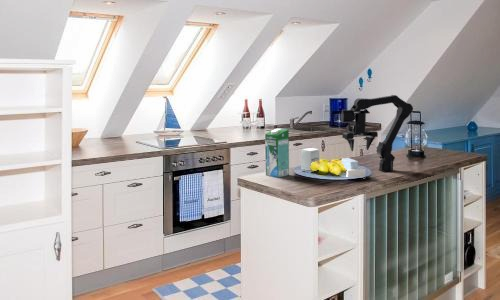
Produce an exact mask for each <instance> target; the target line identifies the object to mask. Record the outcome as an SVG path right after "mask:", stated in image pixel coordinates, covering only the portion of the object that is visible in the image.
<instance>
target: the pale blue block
mask: <svg viewBox="0 0 500 300" xmlns="http://www.w3.org/2000/svg"><path fill="white" fill-rule="evenodd" d="M341 164H343V165H344V168H345V169H346V170H352V169H359V161H358V160H355V159H352V158H349V157H345V158H341Z"/></svg>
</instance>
